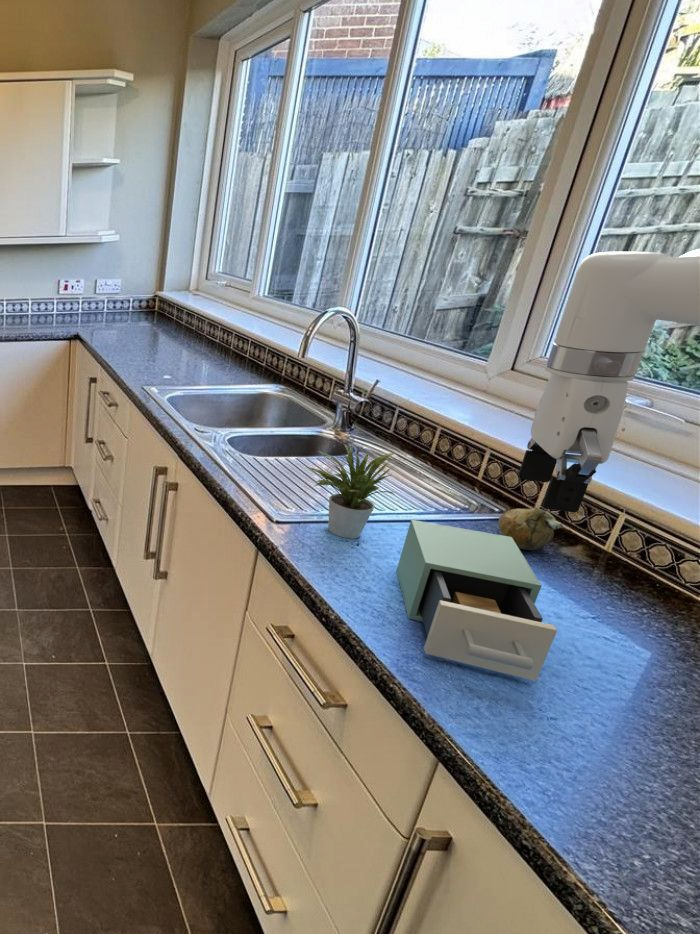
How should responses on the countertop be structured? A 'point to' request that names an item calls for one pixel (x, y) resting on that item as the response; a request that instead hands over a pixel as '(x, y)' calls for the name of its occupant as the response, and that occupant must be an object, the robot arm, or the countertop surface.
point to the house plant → (352, 494)
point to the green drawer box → (459, 560)
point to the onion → (528, 527)
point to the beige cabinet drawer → (485, 625)
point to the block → (475, 602)
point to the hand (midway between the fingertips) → (545, 494)
